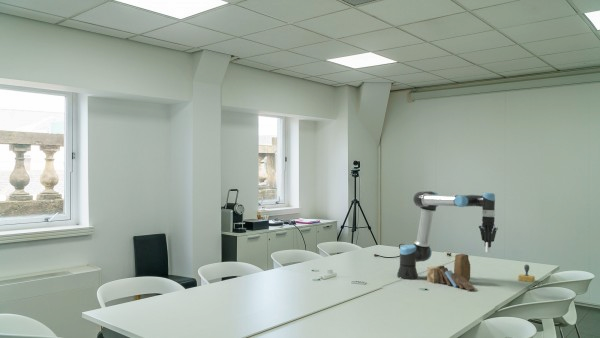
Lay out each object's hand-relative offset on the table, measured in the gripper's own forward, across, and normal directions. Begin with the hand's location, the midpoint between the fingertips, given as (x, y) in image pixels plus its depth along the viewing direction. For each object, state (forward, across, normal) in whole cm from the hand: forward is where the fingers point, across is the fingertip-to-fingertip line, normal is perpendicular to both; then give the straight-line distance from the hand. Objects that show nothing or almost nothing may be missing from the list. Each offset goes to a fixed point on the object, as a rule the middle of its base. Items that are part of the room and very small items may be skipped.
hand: (487, 251), depth 304 cm
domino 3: (+26, -18, -7) cm, 32 cm away
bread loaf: (+27, -26, +8) cm, 38 cm away
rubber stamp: (+27, -7, +56) cm, 63 cm away
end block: (+26, -37, -7) cm, 46 cm away
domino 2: (+26, -23, -7) cm, 35 cm away
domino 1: (+26, -28, -7) cm, 39 cm away
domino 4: (+26, -12, -7) cm, 29 cm away
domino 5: (+26, -6, -7) cm, 27 cm away
